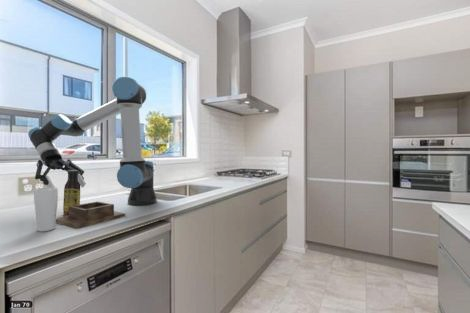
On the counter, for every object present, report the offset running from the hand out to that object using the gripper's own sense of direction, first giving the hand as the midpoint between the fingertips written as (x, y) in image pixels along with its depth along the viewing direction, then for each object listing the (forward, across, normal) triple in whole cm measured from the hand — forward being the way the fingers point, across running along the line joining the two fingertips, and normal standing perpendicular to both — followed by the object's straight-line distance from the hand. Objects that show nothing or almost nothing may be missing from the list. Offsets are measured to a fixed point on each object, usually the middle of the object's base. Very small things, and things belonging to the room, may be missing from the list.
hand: (69, 187), depth 109 cm
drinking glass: (+20, +17, +2) cm, 26 cm away
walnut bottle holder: (+20, +1, +4) cm, 21 cm away
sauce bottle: (+10, 0, -8) cm, 12 cm away
